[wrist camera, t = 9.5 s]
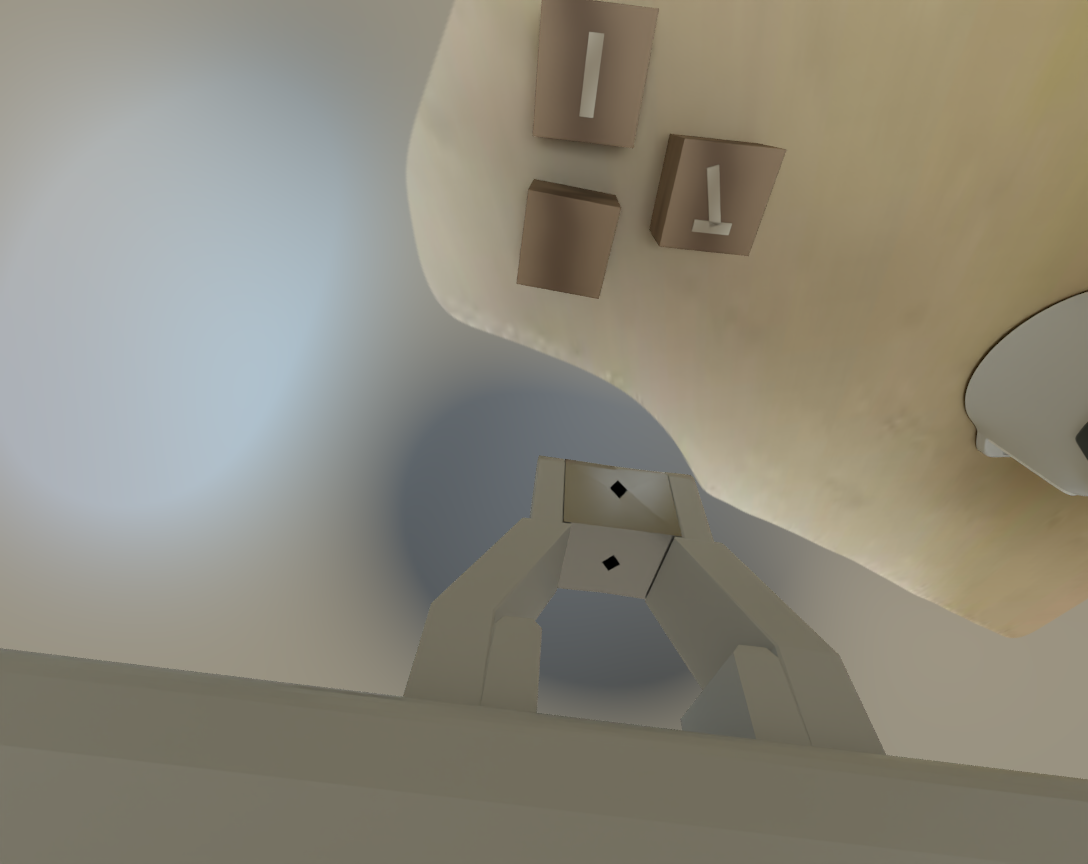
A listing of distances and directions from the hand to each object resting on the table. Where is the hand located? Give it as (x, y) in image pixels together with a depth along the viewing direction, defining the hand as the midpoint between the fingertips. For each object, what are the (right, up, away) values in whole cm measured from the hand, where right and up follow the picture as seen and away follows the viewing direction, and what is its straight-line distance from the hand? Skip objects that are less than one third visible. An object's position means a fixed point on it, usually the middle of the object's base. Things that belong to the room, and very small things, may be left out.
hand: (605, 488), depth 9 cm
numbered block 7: (+10, +19, +22) cm, 31 cm away
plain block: (+1, +17, +25) cm, 30 cm away
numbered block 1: (+2, +24, +19) cm, 31 cm away
